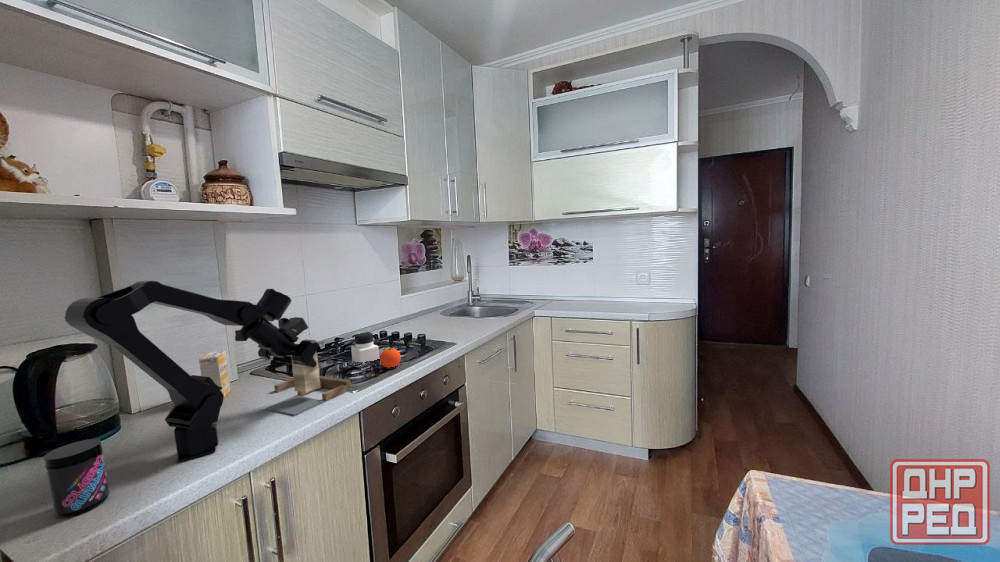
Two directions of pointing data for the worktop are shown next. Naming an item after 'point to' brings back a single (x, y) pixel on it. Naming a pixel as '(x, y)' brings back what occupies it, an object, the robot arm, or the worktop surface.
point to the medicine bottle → (364, 348)
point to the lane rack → (327, 382)
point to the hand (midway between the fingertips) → (309, 364)
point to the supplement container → (77, 477)
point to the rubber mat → (295, 405)
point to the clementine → (390, 357)
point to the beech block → (306, 377)
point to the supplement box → (216, 369)
